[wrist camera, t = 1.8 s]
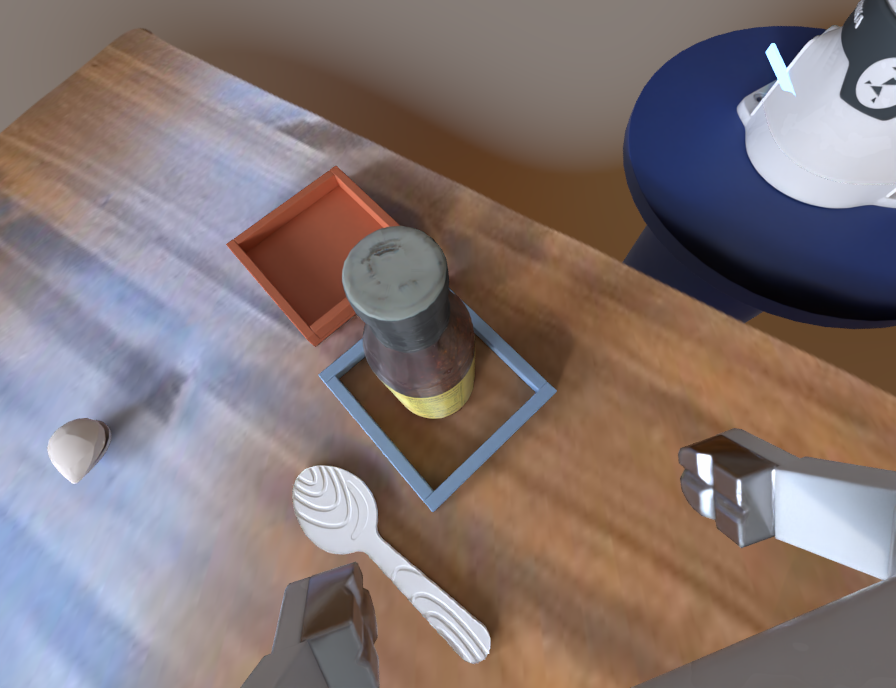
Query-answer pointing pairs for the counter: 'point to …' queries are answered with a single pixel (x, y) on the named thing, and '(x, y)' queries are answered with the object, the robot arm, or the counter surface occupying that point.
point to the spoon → (379, 551)
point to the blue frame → (482, 453)
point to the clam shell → (78, 447)
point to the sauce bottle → (412, 320)
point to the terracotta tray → (311, 251)
